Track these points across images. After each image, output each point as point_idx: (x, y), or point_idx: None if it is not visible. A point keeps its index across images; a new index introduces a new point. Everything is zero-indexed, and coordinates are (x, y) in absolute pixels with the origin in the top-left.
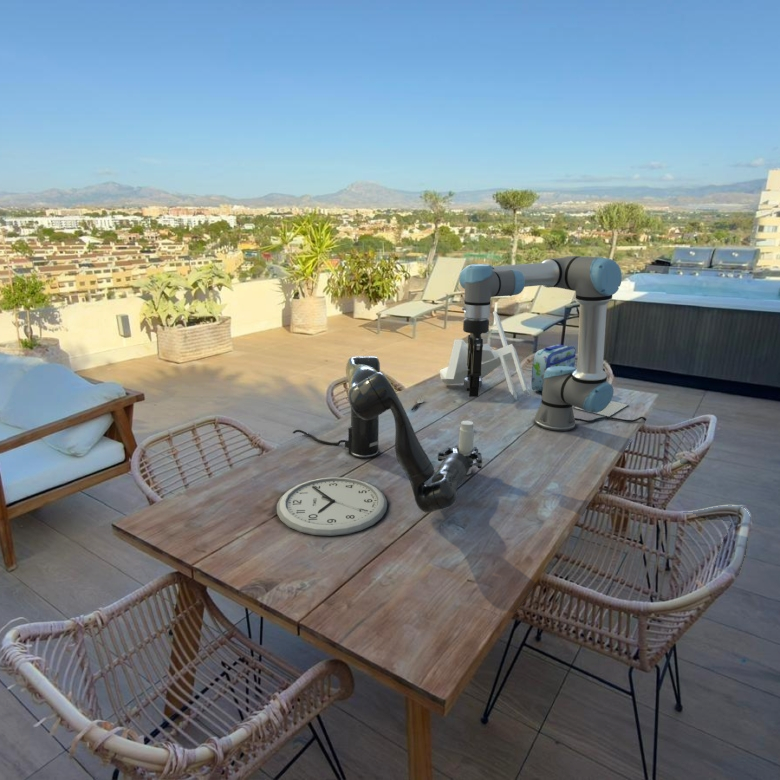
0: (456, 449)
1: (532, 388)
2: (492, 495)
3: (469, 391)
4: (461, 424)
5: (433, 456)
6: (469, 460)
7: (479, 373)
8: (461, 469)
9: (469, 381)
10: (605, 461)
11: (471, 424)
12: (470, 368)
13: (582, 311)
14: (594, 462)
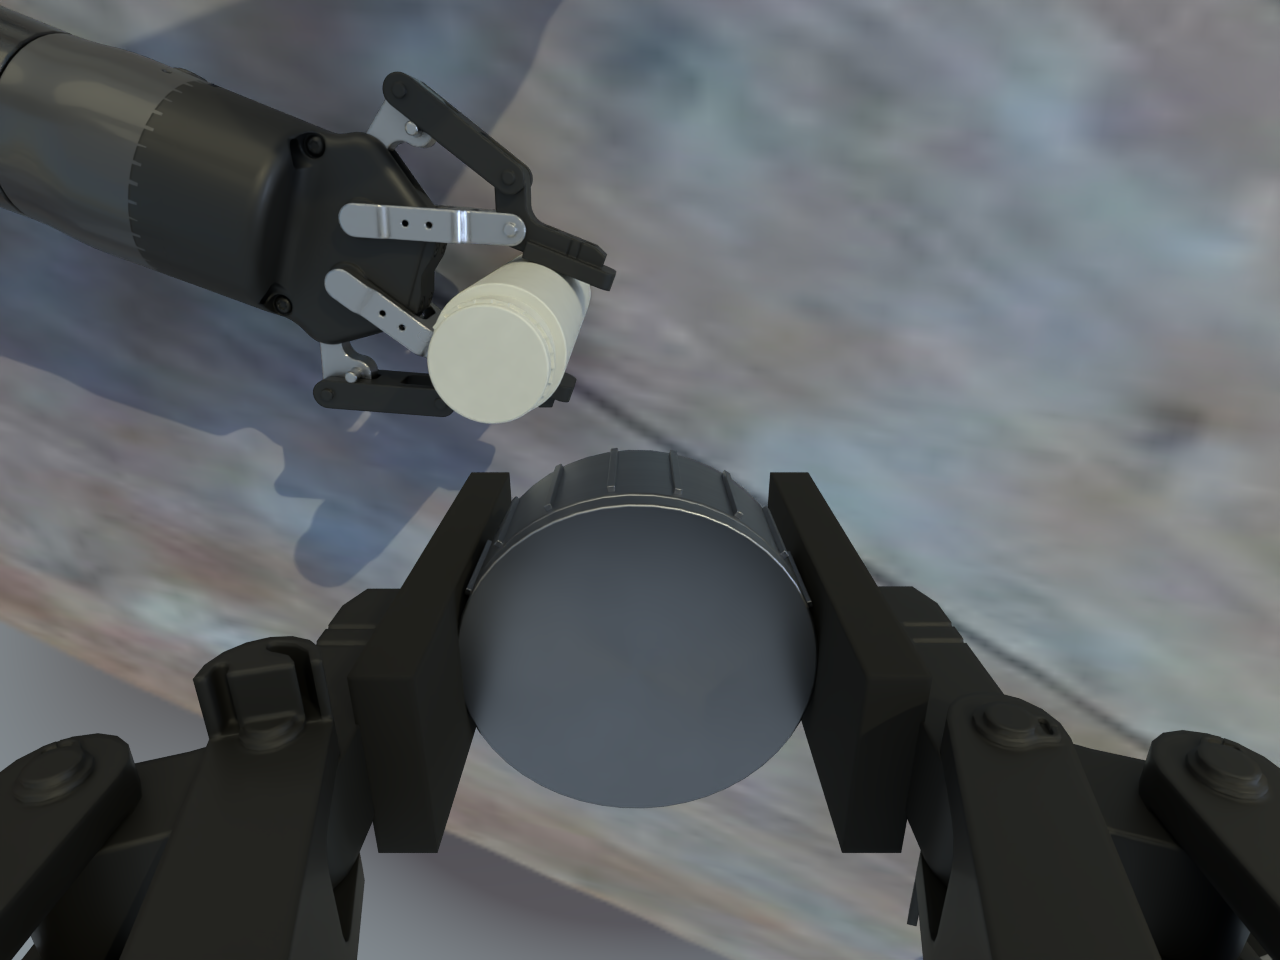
0: (490, 241)
1: None
2: (278, 410)
3: (471, 504)
4: (475, 302)
5: (774, 94)
6: (311, 318)
7: (26, 954)
8: (69, 233)
9: (477, 585)
10: (707, 934)
11: (444, 400)
12: (937, 772)
13: None
14: (696, 898)
